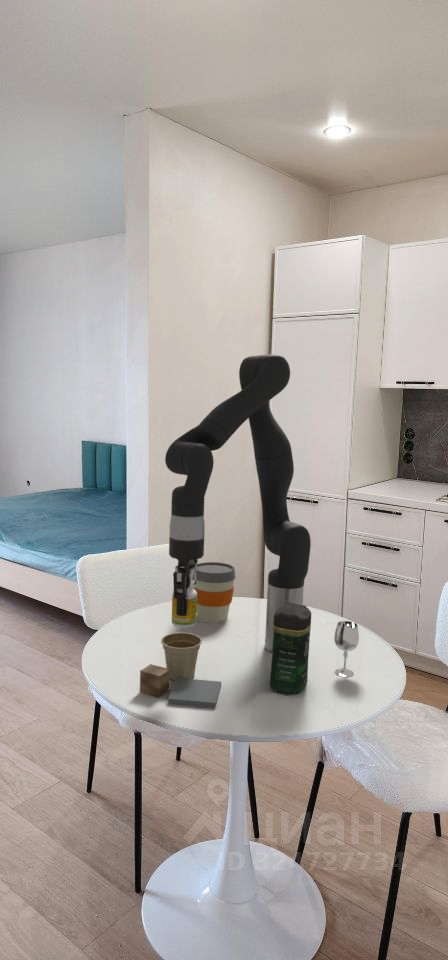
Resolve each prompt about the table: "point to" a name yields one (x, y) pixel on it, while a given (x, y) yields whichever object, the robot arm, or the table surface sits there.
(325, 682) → the table surface
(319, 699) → the table surface
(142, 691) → the walnut block
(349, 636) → the wineglass
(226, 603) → the reusable coffee cup
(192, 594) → the supplement bottle
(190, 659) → the flower pot
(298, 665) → the coffee jar
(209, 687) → the coaster
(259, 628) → the table surface
